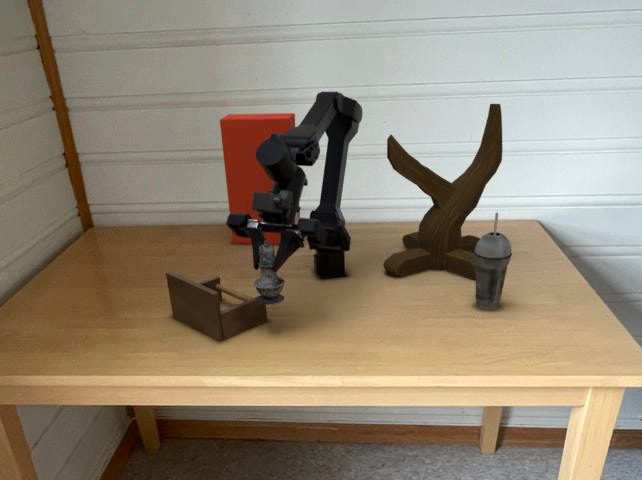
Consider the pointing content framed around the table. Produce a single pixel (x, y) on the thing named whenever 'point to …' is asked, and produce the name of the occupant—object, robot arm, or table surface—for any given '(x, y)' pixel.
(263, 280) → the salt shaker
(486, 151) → the wooden stand
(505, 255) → the beverage cup
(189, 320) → the spice rack
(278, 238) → the file binder
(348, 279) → the table surface
